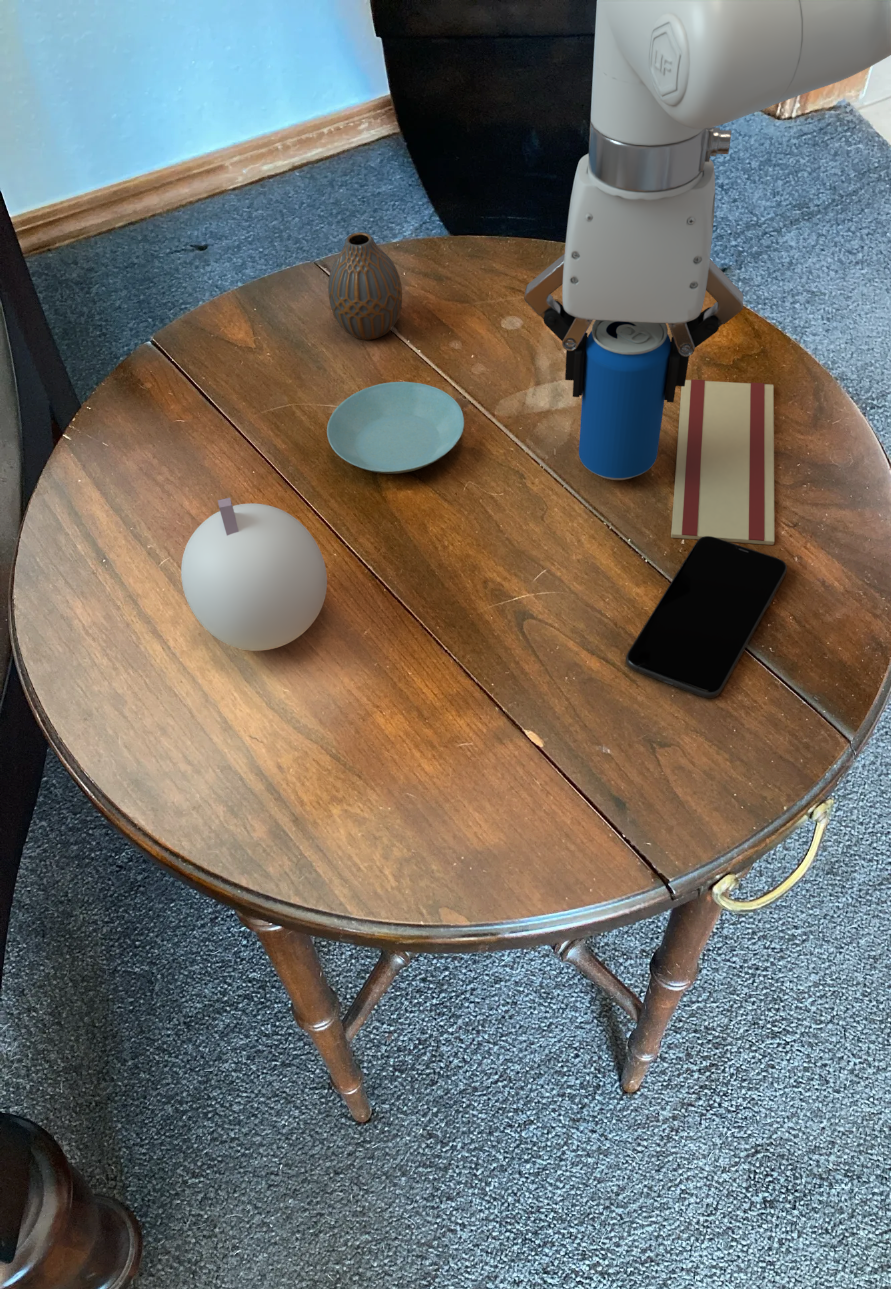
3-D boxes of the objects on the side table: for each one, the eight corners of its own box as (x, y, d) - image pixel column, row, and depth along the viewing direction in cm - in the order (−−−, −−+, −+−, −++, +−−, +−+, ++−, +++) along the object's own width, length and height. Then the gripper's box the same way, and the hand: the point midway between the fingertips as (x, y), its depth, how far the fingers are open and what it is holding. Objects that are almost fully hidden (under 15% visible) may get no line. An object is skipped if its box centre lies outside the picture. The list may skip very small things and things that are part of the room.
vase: (409, 307, 106) (401, 218, 98) (400, 349, 102) (391, 260, 95) (339, 306, 106) (327, 218, 99) (328, 348, 102) (314, 259, 95)
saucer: (414, 509, 89) (412, 487, 87) (303, 461, 93) (298, 439, 92) (490, 429, 95) (490, 407, 93) (382, 388, 99) (379, 366, 97)
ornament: (177, 620, 84) (132, 499, 74) (288, 559, 87) (259, 435, 77) (246, 699, 79) (207, 581, 69) (360, 632, 82) (339, 510, 72)
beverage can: (612, 425, 93) (624, 294, 83) (672, 458, 90) (691, 326, 80) (562, 462, 90) (568, 332, 81) (621, 497, 88) (635, 366, 78)
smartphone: (715, 705, 76) (790, 569, 83) (717, 697, 76) (792, 561, 82) (619, 668, 79) (700, 538, 85) (620, 660, 78) (701, 530, 85)
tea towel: (772, 388, 96) (773, 383, 95) (773, 545, 85) (774, 540, 84) (681, 383, 97) (682, 378, 96) (670, 537, 86) (671, 533, 86)
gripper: (784, 123, 71) (737, 365, 85) (521, 118, 73) (520, 354, 88) (785, 182, 66) (735, 426, 81) (506, 174, 69) (508, 412, 84)
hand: (624, 387), depth 84 cm, fingers closed on beverage can, 6 cm apart
